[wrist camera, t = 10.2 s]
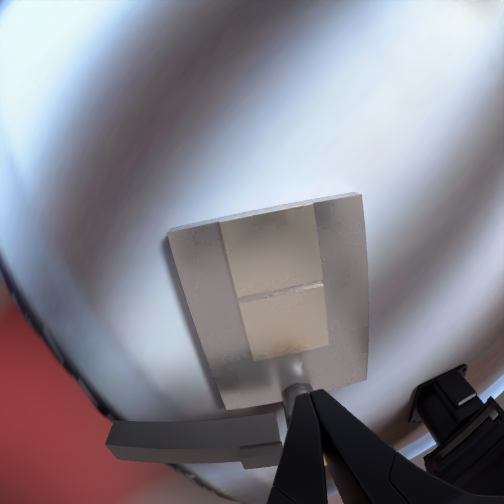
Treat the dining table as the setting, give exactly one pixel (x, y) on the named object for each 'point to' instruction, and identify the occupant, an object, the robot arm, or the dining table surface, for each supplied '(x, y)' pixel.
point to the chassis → (279, 298)
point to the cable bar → (200, 441)
